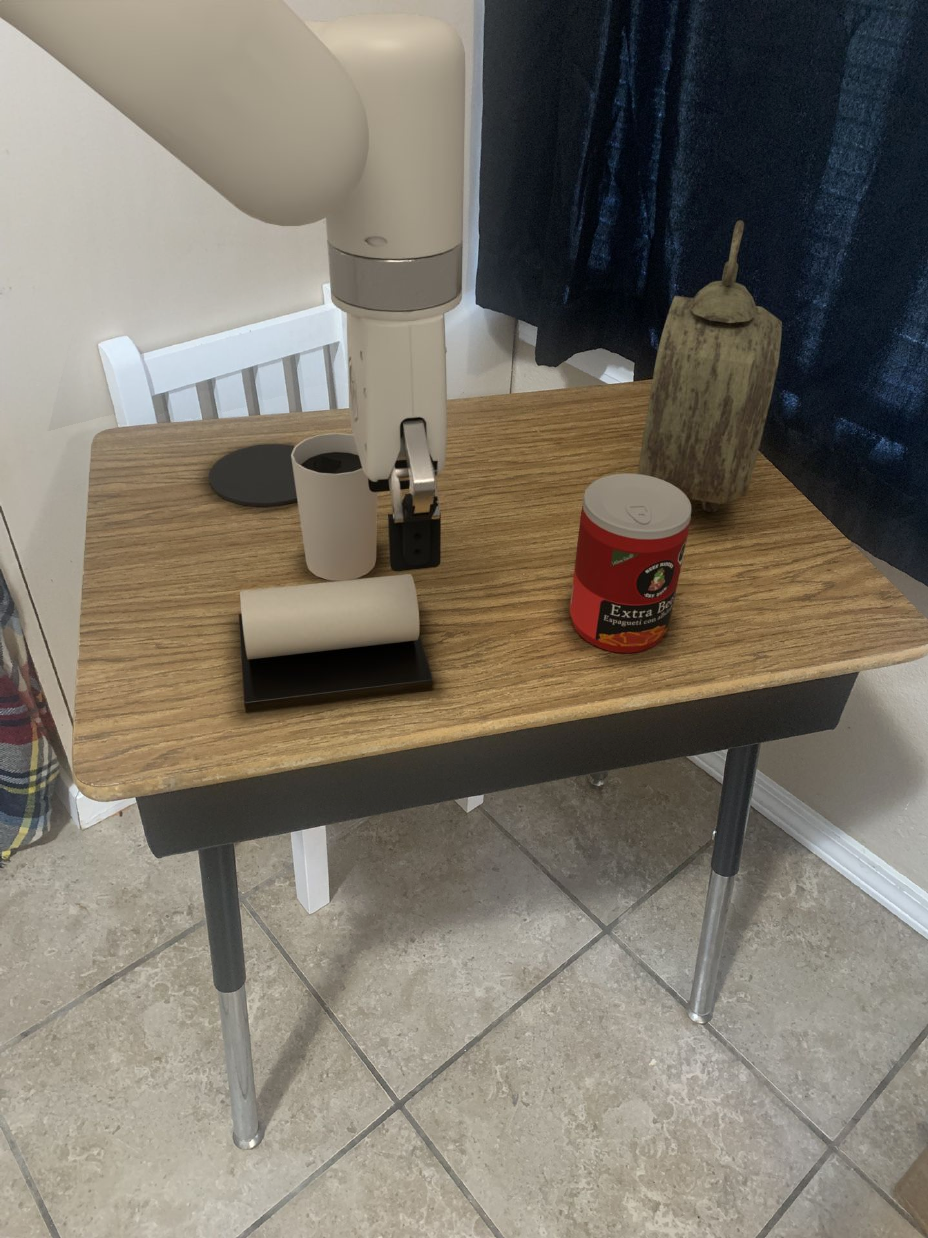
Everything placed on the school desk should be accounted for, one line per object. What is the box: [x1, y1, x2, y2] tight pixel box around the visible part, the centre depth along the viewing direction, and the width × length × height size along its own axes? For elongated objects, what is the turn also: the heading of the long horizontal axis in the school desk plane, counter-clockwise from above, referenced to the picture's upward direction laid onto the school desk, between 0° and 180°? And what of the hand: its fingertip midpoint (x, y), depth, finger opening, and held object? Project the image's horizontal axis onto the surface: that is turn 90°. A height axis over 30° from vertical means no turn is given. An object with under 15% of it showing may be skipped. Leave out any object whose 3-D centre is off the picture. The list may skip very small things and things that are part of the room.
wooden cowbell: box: [637, 220, 783, 514], centre depth 82 cm, size 14×9×25 cm, turn 164°
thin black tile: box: [238, 613, 434, 714], centre depth 71 cm, size 13×10×1 cm
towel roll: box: [239, 573, 420, 659], centre depth 69 cm, size 12×5×5 cm, turn 102°
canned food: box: [569, 473, 692, 654], centre depth 72 cm, size 8×8×11 cm
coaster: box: [208, 443, 298, 508], centre depth 92 cm, size 11×11×1 cm
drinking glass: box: [291, 432, 379, 582], centre depth 78 cm, size 7×7×10 cm
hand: (402, 525), depth 66 cm, fingers open, 9 cm apart
